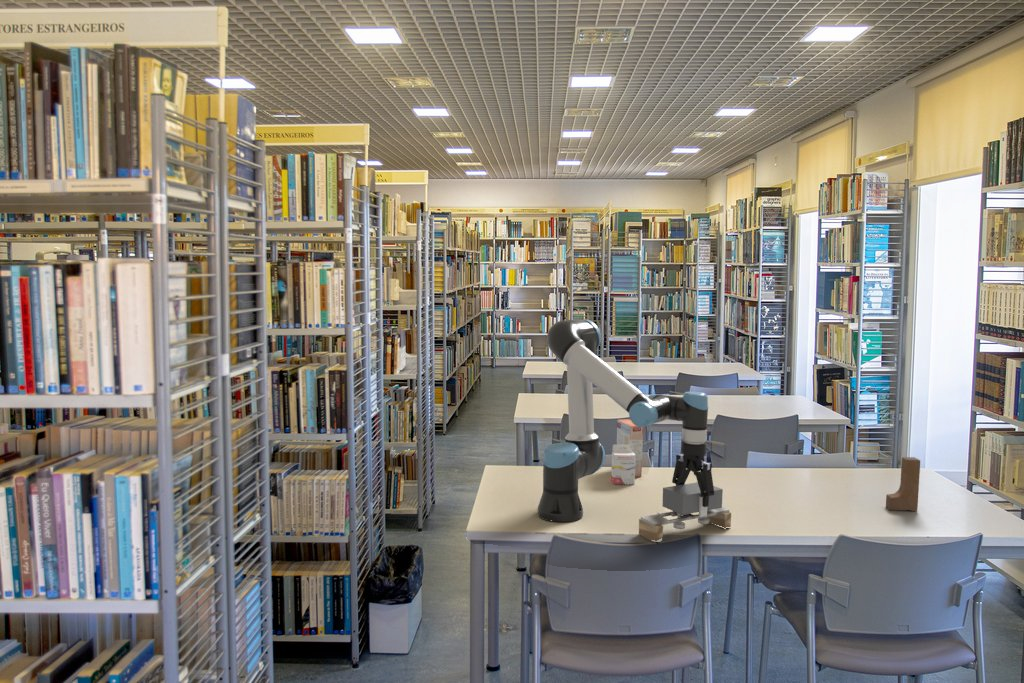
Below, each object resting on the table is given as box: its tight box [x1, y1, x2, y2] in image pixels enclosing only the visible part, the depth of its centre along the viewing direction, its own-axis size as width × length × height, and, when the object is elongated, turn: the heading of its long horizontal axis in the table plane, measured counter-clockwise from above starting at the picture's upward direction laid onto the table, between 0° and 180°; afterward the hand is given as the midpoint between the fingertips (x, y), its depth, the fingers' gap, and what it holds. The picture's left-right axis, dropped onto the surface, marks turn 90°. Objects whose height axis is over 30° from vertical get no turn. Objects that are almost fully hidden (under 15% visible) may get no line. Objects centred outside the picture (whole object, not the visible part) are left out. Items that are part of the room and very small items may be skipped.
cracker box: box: [616, 418, 644, 478], centre depth 303 cm, size 14×6×21 cm, turn 13°
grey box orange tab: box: [661, 482, 724, 530], centre depth 236 cm, size 16×9×12 cm, turn 118°
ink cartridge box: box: [610, 444, 636, 486], centre depth 289 cm, size 9×5×15 cm, turn 92°
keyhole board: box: [638, 506, 732, 541], centre depth 235 cm, size 30×8×6 cm, turn 118°
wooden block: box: [885, 456, 921, 512], centre depth 260 cm, size 9×4×18 cm, turn 86°
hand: (691, 511), depth 236 cm, fingers closed on grey box orange tab, 9 cm apart
